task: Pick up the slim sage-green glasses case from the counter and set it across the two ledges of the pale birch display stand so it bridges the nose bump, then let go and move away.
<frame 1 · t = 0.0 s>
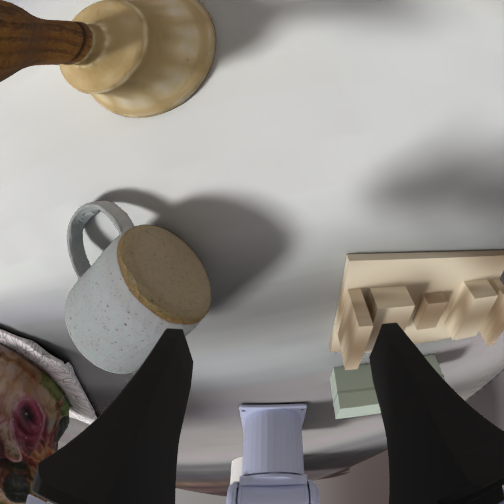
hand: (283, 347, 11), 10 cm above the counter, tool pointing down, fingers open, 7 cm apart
ceramic mug: (137, 255, 21), on the counter
display stand: (423, 300, 23), on the counter
cookie jar: (29, 372, 35), on the counter
hand bell: (144, 50, 13), on the counter
glasses case: (384, 367, 29), on the counter
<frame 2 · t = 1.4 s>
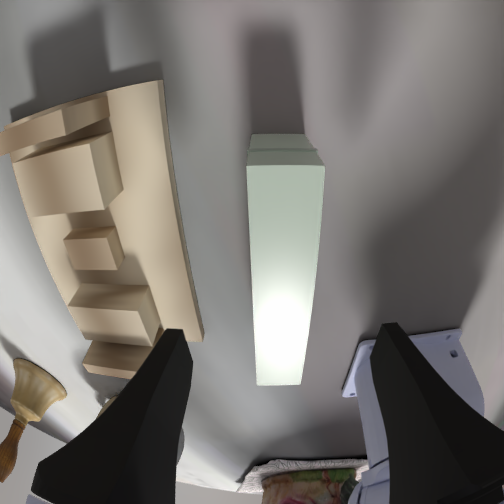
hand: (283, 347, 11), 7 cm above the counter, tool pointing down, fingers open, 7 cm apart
display stand: (104, 235, 16), on the counter
cookie jar: (310, 473, 44), on the counter
hand bell: (40, 377, 28), on the counter
glasses case: (278, 244, 16), on the counter
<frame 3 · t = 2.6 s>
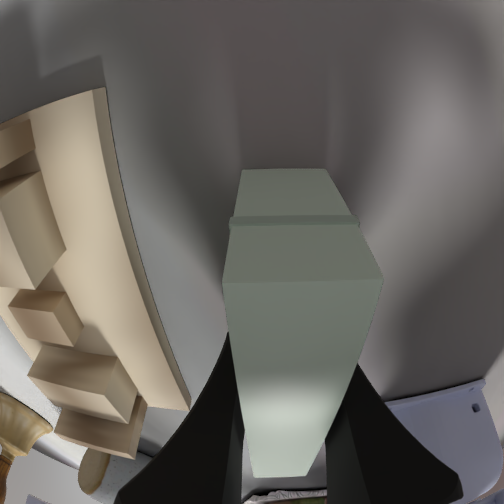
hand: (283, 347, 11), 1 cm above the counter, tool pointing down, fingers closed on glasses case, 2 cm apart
ceramic mug: (127, 450, 25), on the counter
display stand: (58, 295, 12), on the counter
cookie jar: (311, 496, 39), on the counter
hand bell: (24, 410, 24), on the counter
glasses case: (281, 318, 12), on the counter, touching gripper
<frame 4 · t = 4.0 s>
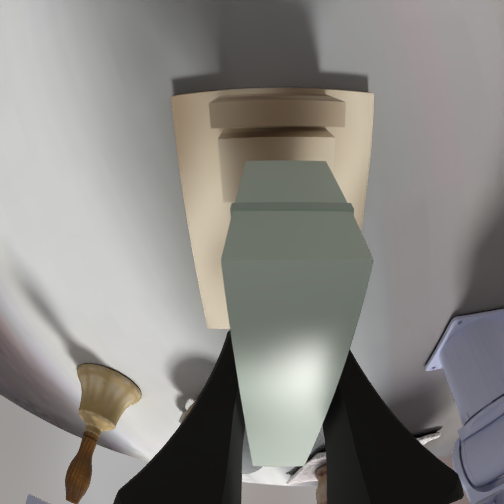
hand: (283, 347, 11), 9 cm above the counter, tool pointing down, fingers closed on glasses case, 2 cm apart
ceramic mug: (222, 408, 32), on the counter
display stand: (275, 226, 18), on the counter
cookie jar: (360, 457, 46), on the counter
hand bell: (109, 382, 30), on the counter
glasses case: (283, 307, 12), point 7 cm above the counter, touching gripper
when the fingers open (6 cm above the counter, at t = 4.7 s): glasses case stays where it is, resting on display stand.
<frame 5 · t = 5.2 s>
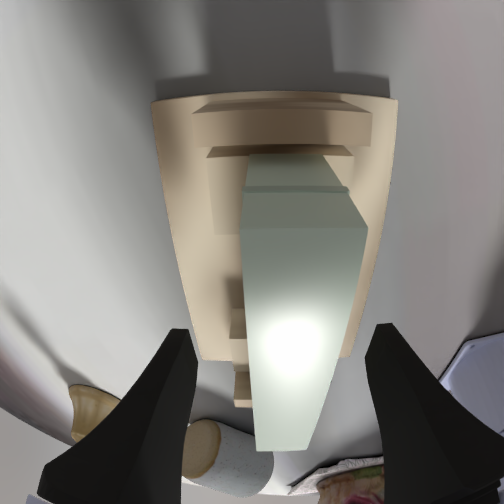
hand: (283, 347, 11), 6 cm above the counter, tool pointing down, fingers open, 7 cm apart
ceramic mug: (218, 430, 29), on the counter
display stand: (277, 254, 15), on the counter
cookie jar: (362, 470, 43), on the counter
hand bell: (102, 402, 28), on the counter
glasses case: (283, 293, 13), point 3 cm above the counter, touching display stand
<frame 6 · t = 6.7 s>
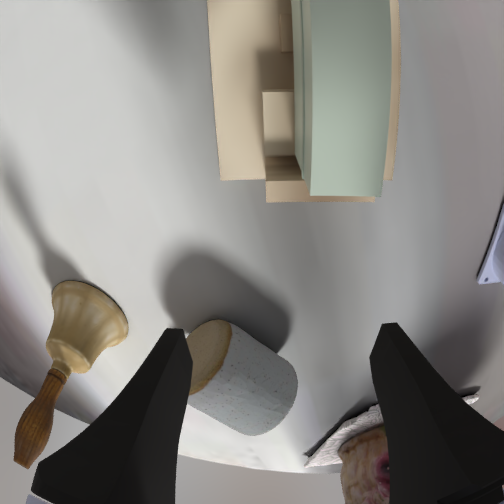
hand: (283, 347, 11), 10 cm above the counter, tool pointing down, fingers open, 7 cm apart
ceramic mug: (226, 348, 27), on the counter
display stand: (307, 37, 13), on the counter
cookie jar: (389, 430, 40), on the counter
hand bell: (89, 312, 25), on the counter
glasses case: (320, 29, 10), point 3 cm above the counter, touching display stand
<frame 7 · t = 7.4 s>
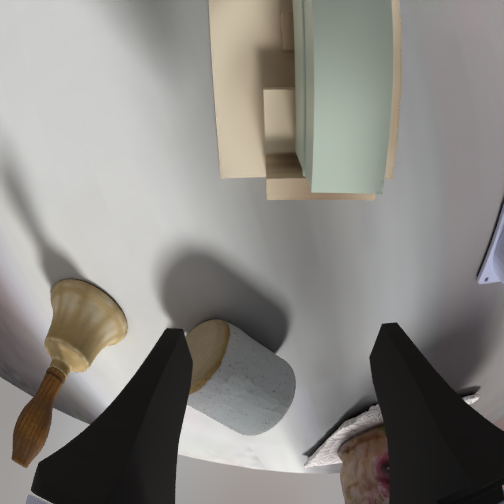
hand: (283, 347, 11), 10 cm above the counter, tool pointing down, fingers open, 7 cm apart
ceramic mug: (224, 348, 27), on the counter
display stand: (308, 35, 13), on the counter
cookie jar: (389, 430, 40), on the counter
hand bell: (88, 311, 25), on the counter
glasses case: (321, 27, 10), point 3 cm above the counter, touching display stand
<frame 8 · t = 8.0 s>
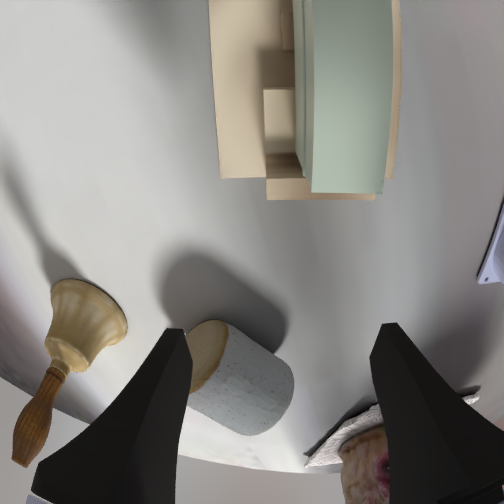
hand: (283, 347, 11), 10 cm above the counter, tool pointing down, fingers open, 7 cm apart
ceramic mug: (223, 348, 27), on the counter
display stand: (308, 35, 13), on the counter
cookie jar: (389, 430, 40), on the counter
hand bell: (88, 311, 25), on the counter
glasses case: (321, 27, 10), point 3 cm above the counter, touching display stand
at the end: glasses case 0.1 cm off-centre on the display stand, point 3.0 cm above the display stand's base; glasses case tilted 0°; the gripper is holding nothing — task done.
